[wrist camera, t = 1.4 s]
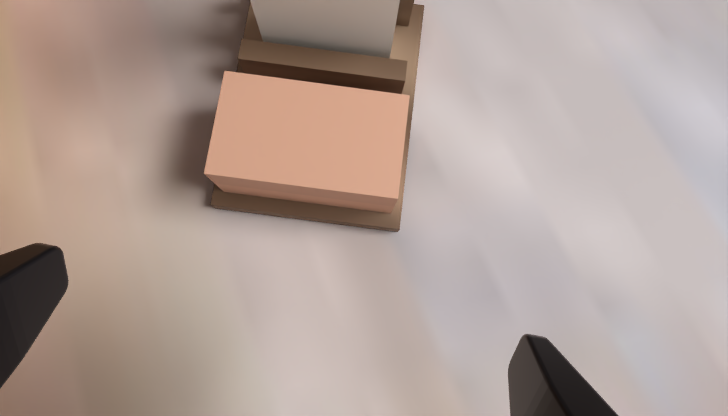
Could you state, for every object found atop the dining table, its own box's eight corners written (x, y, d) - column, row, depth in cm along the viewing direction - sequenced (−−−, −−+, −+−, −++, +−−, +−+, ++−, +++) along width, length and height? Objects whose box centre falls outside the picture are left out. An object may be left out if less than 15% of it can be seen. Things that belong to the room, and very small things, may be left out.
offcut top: (394, 206, 21) (398, 198, 19) (214, 183, 21) (203, 173, 19) (405, 110, 22) (409, 95, 20) (233, 87, 22) (224, 70, 20)
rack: (397, 231, 23) (405, 220, 20) (215, 208, 23) (194, 193, 20) (421, 14, 25) (432, -26, 22) (256, -8, 25) (244, -52, 22)
